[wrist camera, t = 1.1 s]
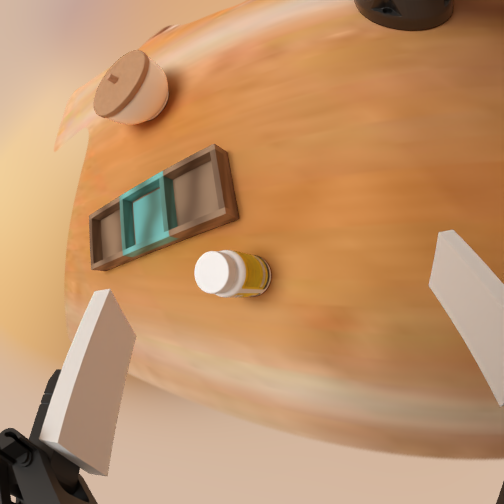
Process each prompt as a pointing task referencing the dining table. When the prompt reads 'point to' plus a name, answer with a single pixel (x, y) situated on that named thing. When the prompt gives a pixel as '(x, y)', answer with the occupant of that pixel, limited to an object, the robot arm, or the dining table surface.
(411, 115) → the dining table surface
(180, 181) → the tray
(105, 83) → the lidded bowl
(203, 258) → the supplement bottle
